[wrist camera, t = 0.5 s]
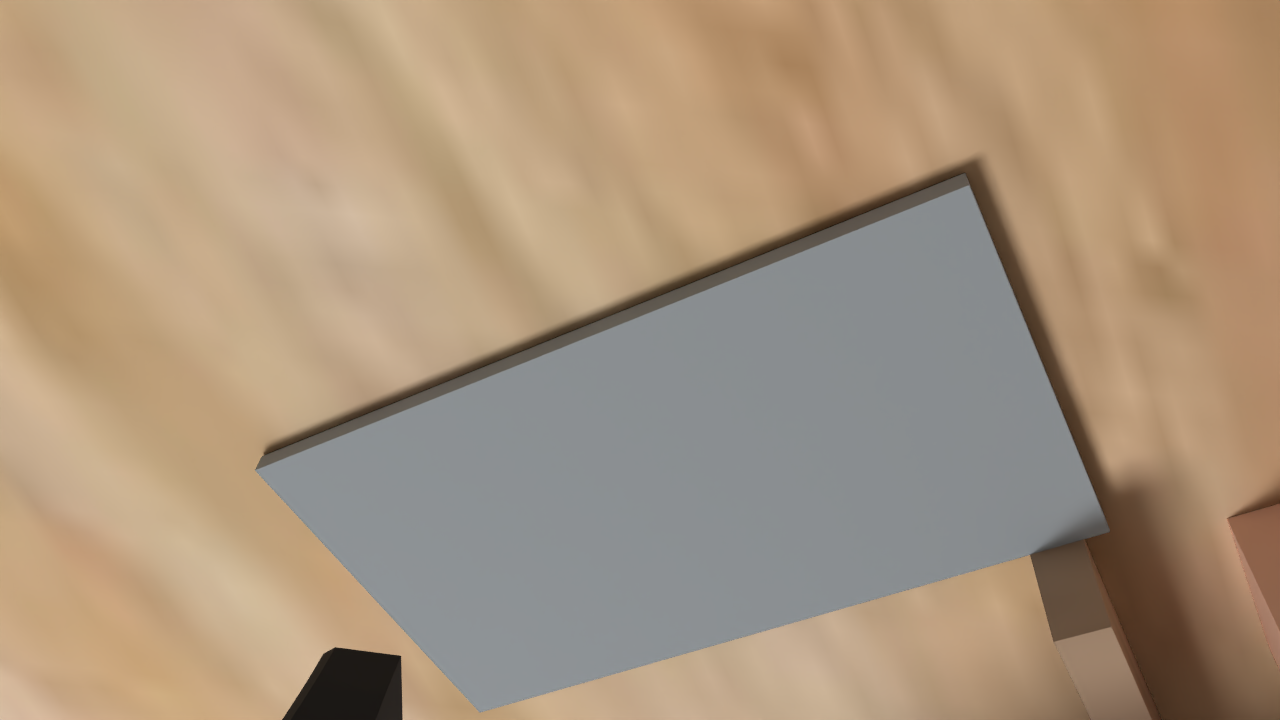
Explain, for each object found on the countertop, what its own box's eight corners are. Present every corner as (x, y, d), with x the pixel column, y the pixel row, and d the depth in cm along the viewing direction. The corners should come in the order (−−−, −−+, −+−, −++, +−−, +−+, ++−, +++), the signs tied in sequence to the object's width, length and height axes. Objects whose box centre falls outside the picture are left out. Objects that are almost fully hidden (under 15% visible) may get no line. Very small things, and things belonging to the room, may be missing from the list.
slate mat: (1105, 516, 22) (1110, 531, 22) (482, 697, 27) (480, 712, 26) (965, 172, 18) (969, 184, 18) (261, 456, 23) (254, 470, 22)
